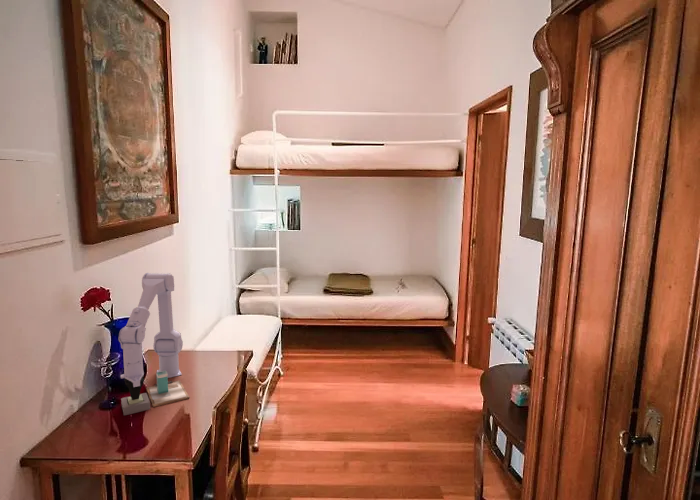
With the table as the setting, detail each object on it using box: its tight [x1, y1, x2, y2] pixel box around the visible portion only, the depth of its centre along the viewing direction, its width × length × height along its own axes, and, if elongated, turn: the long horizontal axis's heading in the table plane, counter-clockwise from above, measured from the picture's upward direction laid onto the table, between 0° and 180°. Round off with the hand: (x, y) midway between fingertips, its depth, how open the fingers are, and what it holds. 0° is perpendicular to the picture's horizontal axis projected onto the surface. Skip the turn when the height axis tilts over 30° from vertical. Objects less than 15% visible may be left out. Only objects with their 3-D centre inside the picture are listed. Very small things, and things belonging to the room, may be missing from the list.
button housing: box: [120, 392, 151, 416], centre depth 145 cm, size 8×8×3 cm
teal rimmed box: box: [155, 371, 169, 394], centre depth 155 cm, size 3×3×7 cm
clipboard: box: [145, 380, 190, 408], centre depth 155 cm, size 16×12×1 cm
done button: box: [127, 393, 143, 405], centre depth 145 cm, size 4×4×3 cm
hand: (135, 398), depth 145 cm, fingers closed, pressing on done button
